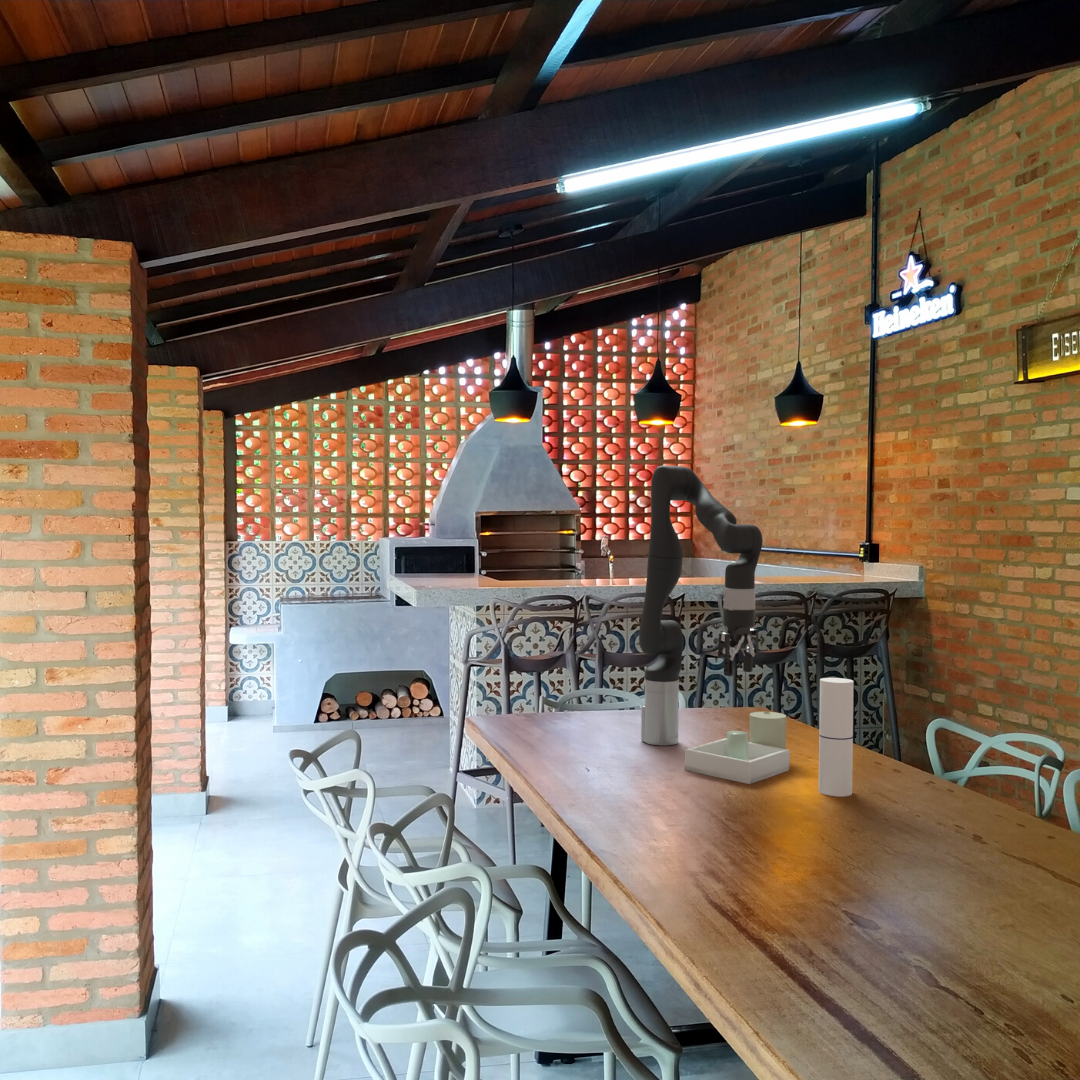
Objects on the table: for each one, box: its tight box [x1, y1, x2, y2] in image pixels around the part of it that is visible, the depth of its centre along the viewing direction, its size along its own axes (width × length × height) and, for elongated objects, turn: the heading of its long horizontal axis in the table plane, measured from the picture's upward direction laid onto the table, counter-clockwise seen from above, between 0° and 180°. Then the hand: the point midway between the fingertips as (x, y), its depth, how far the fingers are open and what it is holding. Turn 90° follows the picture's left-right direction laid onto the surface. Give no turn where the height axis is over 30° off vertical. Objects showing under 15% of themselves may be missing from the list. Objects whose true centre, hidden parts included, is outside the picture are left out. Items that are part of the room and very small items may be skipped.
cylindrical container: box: [818, 677, 855, 798], centre depth 215 cm, size 7×7×25 cm
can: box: [749, 711, 787, 749], centre depth 244 cm, size 9×9×12 cm
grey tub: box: [684, 737, 791, 785], centre depth 234 cm, size 18×18×5 cm
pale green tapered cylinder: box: [726, 730, 749, 761], centre depth 234 cm, size 5×5×8 cm
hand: (738, 673), depth 234 cm, fingers open, 8 cm apart
